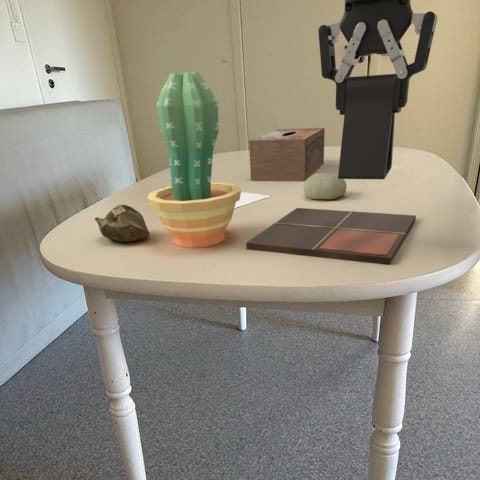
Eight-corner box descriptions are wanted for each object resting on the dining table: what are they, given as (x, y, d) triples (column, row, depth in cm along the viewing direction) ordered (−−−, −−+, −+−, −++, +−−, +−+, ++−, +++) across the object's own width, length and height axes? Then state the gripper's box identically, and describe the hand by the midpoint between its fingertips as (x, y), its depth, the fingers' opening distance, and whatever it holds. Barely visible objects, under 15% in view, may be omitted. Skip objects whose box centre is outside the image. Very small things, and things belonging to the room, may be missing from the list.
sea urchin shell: (331, 180, 102) (344, 157, 95) (342, 210, 100) (357, 189, 93) (294, 185, 100) (305, 162, 93) (304, 215, 98) (317, 194, 91)
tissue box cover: (277, 163, 139) (276, 129, 135) (323, 163, 135) (324, 127, 130) (250, 180, 118) (248, 140, 114) (304, 181, 113) (304, 139, 109)
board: (415, 221, 78) (416, 214, 77) (390, 264, 61) (390, 257, 60) (296, 212, 87) (296, 207, 87) (246, 248, 70) (245, 242, 70)
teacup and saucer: (233, 196, 103) (232, 178, 101) (209, 203, 98) (207, 184, 96) (207, 192, 109) (205, 175, 107) (183, 199, 103) (180, 181, 102)
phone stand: (383, 179, 57) (392, 74, 52) (337, 179, 60) (341, 77, 54) (392, 167, 65) (400, 73, 59) (350, 167, 67) (355, 76, 61)
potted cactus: (250, 225, 81) (242, 68, 70) (235, 254, 68) (222, 66, 56) (170, 226, 84) (149, 75, 72) (140, 254, 71) (108, 75, 59)
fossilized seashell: (84, 226, 78) (110, 247, 72) (98, 191, 77) (126, 209, 71) (120, 238, 84) (147, 258, 78) (134, 205, 83) (162, 223, 77)
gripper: (452, -54, 50) (431, 109, 58) (329, -32, 57) (325, 112, 65) (445, -69, 45) (423, 114, 53) (309, -42, 51) (307, 117, 59)
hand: (369, 112), depth 59 cm, fingers closed on phone stand, 6 cm apart
